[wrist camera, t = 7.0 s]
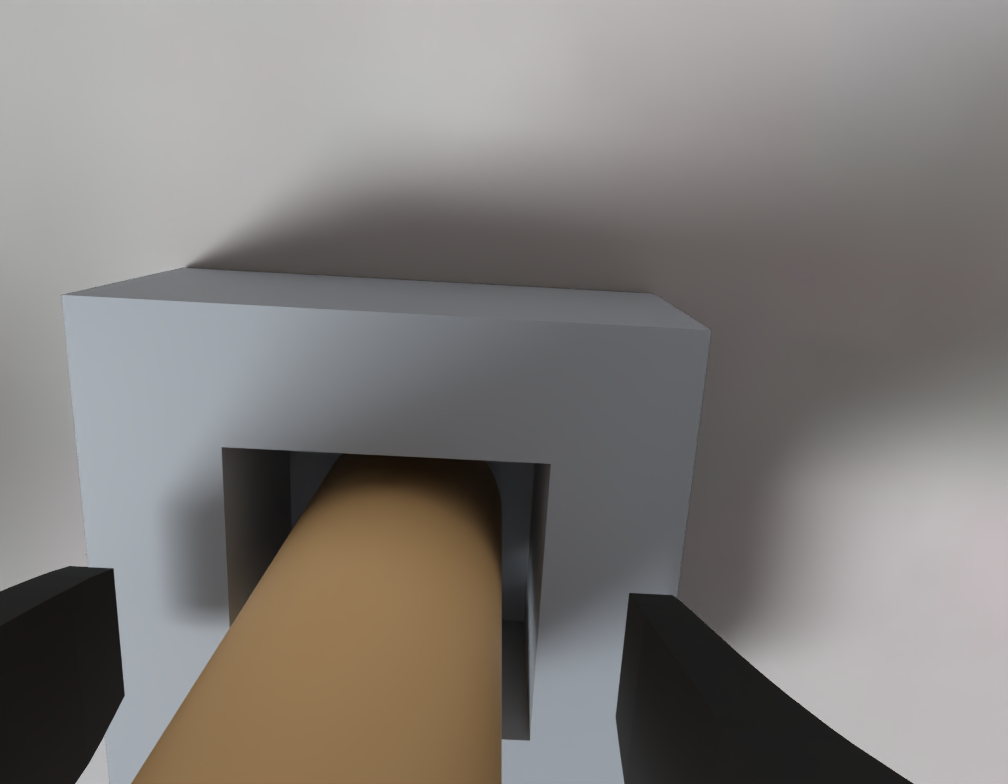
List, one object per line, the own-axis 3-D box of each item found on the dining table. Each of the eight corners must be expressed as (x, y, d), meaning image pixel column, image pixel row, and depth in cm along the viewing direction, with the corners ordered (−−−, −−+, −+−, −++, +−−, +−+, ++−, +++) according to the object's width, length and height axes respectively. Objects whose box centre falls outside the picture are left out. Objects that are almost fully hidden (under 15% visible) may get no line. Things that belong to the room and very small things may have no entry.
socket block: (654, 293, 14) (711, 330, 10) (611, 696, 16) (645, 850, 13) (182, 267, 14) (61, 295, 10) (205, 677, 16) (113, 827, 12)
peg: (507, 429, 14) (515, 841, 5) (496, 595, 15) (489, 1196, 6) (321, 419, 14) (-6, 817, 5) (322, 586, 15) (46, 1180, 6)
